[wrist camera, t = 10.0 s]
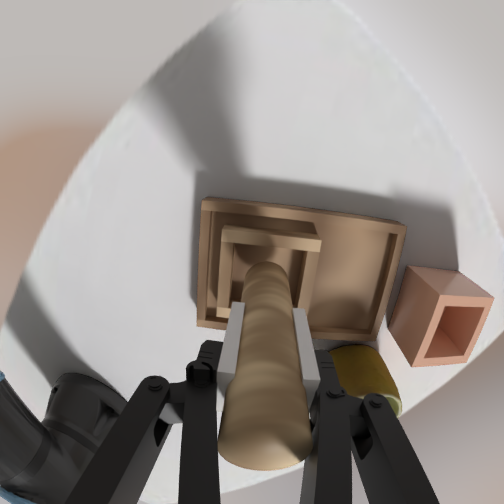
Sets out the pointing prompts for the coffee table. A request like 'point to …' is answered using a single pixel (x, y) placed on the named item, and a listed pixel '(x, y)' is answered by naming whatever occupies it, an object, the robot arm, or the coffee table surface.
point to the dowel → (266, 381)
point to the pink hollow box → (438, 316)
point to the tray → (300, 263)
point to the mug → (365, 374)
